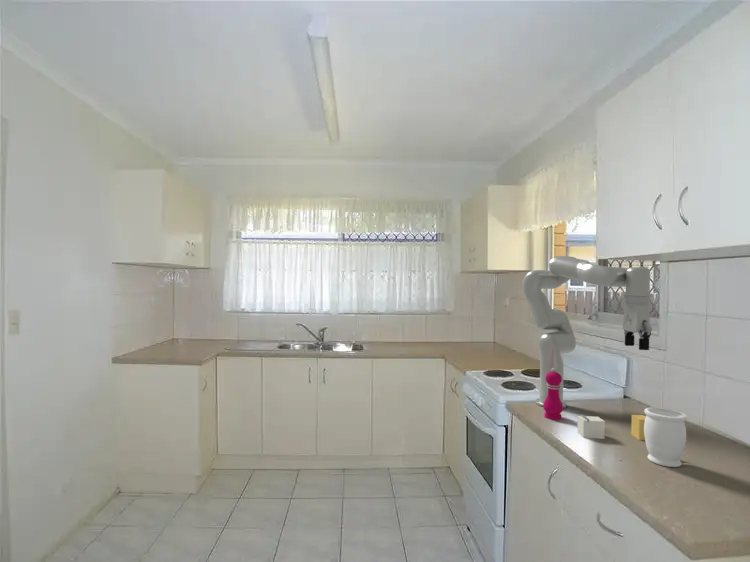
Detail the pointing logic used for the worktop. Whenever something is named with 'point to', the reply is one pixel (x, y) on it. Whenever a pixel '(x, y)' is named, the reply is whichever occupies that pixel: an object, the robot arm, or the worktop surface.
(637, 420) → the stub
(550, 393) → the pepper mill
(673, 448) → the jar
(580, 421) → the ticket
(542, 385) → the robot arm
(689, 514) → the worktop surface
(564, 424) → the worktop surface
